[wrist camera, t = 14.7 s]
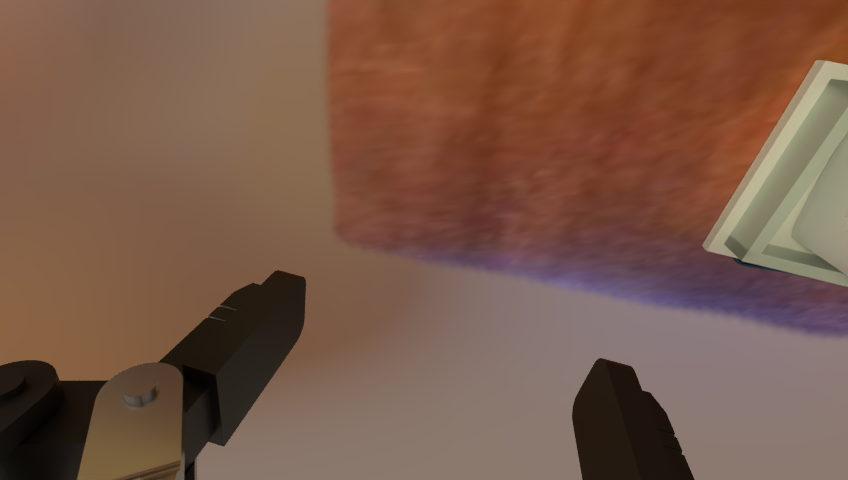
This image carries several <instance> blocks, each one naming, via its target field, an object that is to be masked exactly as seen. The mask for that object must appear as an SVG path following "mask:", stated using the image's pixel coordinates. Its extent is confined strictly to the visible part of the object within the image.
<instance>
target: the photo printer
mask: <svg viewBox="0 0 848 480" xmlns="http://www.w3.org/2000/svg"><path fill="white" fill-rule="evenodd" d="M792 237H793V238H794V239H795V240H796V241H798V242H799V243H801V244H802V245H803V246H805V247H806V248H808V249H809V250H811V251H812V252H813V253H815V254H816V255H818V256H819V257H821V258H822V259H824V260H825V261H827V262H828V263H830V264H831V265H832V266H834V267H835V268H837V269H838V270H840V271H841V272H843V273H844V274H846V275H847V276H848V133H847V134H846V135H845V137H844V138H843V140H842V141H841V142H840V144H839V145H838V147H837V148H836V150H835V151H834V153H833V155H832V156H831V158H830V160H829V161H828V163H827V165H826V167H825V168H824V170H823V172H822V174H821V176H820V177H819V179H818V181H817V183H816V185H815V187H814V188H813V190H812V192H811V194H810V196H809V198H808V199H807V202H806V204H805V205H804V207H803V209H802V211H801V213H800V215H799V217H798V219H797V221H796V224H795V226H794V229H793V232H792Z"/></svg>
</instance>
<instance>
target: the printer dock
mask: <svg viewBox="0 0 848 480" xmlns="http://www.w3.org/2000/svg"><path fill="white" fill-rule="evenodd" d="M847 133H848V65H845V64H840V63H835V62H830V61H823V60H816V61H815V63H814V64H813V66H812V68H811V69H810V71H809V72H808V74H807V76H806V77H805V79H804V81H803V82H802V84H801V85H800V87H799V89H798V90H797V92H796V94H795V95H794V97H793V98H792V100H791V102H790V103H789V105H788V107H787V108H786V110H785V111H784V113H783V115H782V116H781V118H780V119H779V121H778V123H777V124H776V126H775V128H774V129H773V131H772V132H771V134H770V136H769V137H768V139H767V141H766V142H765V144H764V145H763V147H762V149H761V150H760V152H759V154H758V155H757V157H756V158H755V160H754V162H753V163H752V165H751V167H750V168H749V170H748V171H747V173H746V175H745V176H744V178H743V180H742V181H741V183H740V184H739V186H738V188H737V189H736V191H735V192H734V194H733V196H732V197H731V199H730V201H729V202H728V204H727V205H726V207H725V209H724V210H723V212H722V214H721V215H720V217H719V218H718V220H717V222H716V223H715V225H714V227H713V228H712V230H711V231H710V233H709V235H708V236H707V238H706V240H705V241H704V243H703V244H702V247H703V248H704V249H705V250H706V251H709V252H713V253H717V254H722V255H726V256H730V257H734V258H738V259H740V260H741V261H744V262H748V263H752V264H756V265H760V266H764V267H768V268H772V269H777V270H781V271H785V272H789V273H793V274H797V275H801V276H805V277H809V278H814V279H818V280H822V281H826V282H830V283H834V284H838V285H842V286H846V287H848V276H847V275H846V274H844V273H843V272H841V271H840V270H838V269H837V268H835V267H834V266H832V265H831V264H830V263H828V262H827V261H825V260H824V259H822V258H821V257H819V256H818V255H816V254H815V253H813V252H812V251H811V250H809V249H808V248H806V247H805V246H803V245H802V244H801V243H799V242H798V241H796V240H795V239H794V238H793V237H792V232H793V229H794V226H795V224H796V221H797V219H798V217H799V215H800V213H801V211H802V209H803V207H804V205H805V204H806V202H807V199H808V198H809V196H810V194H811V192H812V190H813V188H814V187H815V185H816V183H817V181H818V179H819V177H820V176H821V174H822V172H823V170H824V168H825V167H826V165H827V163H828V161H829V160H830V158H831V156H832V155H833V153H834V151H835V150H836V148H837V147H838V145H839V144H840V142H841V141H842V140H843V138H844V137H845V135H846V134H847Z"/></svg>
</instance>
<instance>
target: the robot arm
mask: <svg viewBox="0 0 848 480" xmlns="http://www.w3.org/2000/svg"><path fill="white" fill-rule="evenodd" d="M305 293H306V280H305V278H304V277H301V276H297V275H294V274H290V273H287V272H283V271H279V270H277V271H275V272H274V273H273V274H271V275H270V277H269V278H267V279H266V280H265V282H264V283H263V284H262V285H258V284H255V283H252V284H250V285H248V286H245V287H243V288H241V289H239V290H237V291H235V292H233V293H232V294H231V296H229V297H228V298H227V299H226V300H225V301H224V302H223V303H222V304H220V307H217V308H216V309H215V310H214V311H213V312H212V313H211V314H210V315H209V317H208V318H206V319H204V320H203V321H202V322H201V323H200V324H199V325H198V326H197V327H196V328H195V329H194V330H193V331H192V332H190V333H189V335H187V336H186V337H185V338H184V339H183V340H182V341H181V342H180V343H179V344H177V345H176V346H175V348H173V349H172V350H171V351H170V352H169V353H168V354H167V355H166V356H165V357H164V358H163V359H161V360H160V361H159V362H152V363H144V364H140V365H137V366H133V367H130V368H128V369H126V370H124V371H122V372H120V373H118V374H117V375H115V376H114V377H113V378H111V379H110V380H107V381H60V380H59V378H58V375H57V373H56V370H55V368H54V367H53V366H52V365H50V364H48V363H46V362H43V361H37V360H26V361H18V362H12V363H8V364H4V365H2V366H0V480H197V456H198V454H199V453H200V452H201V450H202V449H203V448H204V446H205V445H206V443H207V442H211V443H215V444H217V445H221V446H225V445H226V443H227V442H228V440H229V439H230V437H231V436H232V434H233V433H234V432H235V430H236V429H237V427H238V426H239V424H240V423H241V421H242V420H243V418H244V417H245V416H246V414H247V413H248V411H249V410H250V408H251V407H252V406H253V404H254V402H255V401H256V400H257V398H258V397H259V395H260V394H261V392H262V391H263V390H264V388H265V387H266V385H267V384H268V382H269V381H270V380H271V378H272V377H273V375H274V374H275V372H276V371H277V369H278V368H279V367H280V365H281V363H282V362H283V361H284V359H285V358H286V356H287V355H288V353H289V352H290V351H291V349H292V348H293V346H294V345H295V343H296V342H297V340H298V338H299V336H300V334H301V331H302V329H303V325H304V317H305ZM572 420H573V426H574V432H575V438H576V444H577V450H578V456H579V462H580V467H581V473H582V479H583V480H694V478H693V475H692V473H691V470H690V468H689V466H688V463H687V461H686V459H685V456H684V455H682V449H681V447H680V445H679V442H678V440H677V438H676V437H674V434H675V433H674V430H673V428H672V426H671V423H670V421H669V419H668V416H667V414H666V412H665V411H664V409H663V408H662V407H661V406H660V404H659V403H658V402H657V401H656V400H655V399H654V397H653V396H652V394H651V393H649V392H646V391H642V389H641V386H640V384H639V381H638V378H637V376H636V373H635V371H634V369H633V368H632V367H631V366H628V365H625V364H621V363H617V362H614V361H610V360H606V359H602V358H600V359H598V360H597V361H596V362H595V363H594V365H593V367H592V369H591V370H590V372H589V374H588V376H587V378H586V380H585V381H584V383H583V385H582V387H581V388H580V390H579V392H578V394H577V396H576V398H575V401H574V405H573V412H572Z"/></svg>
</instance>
